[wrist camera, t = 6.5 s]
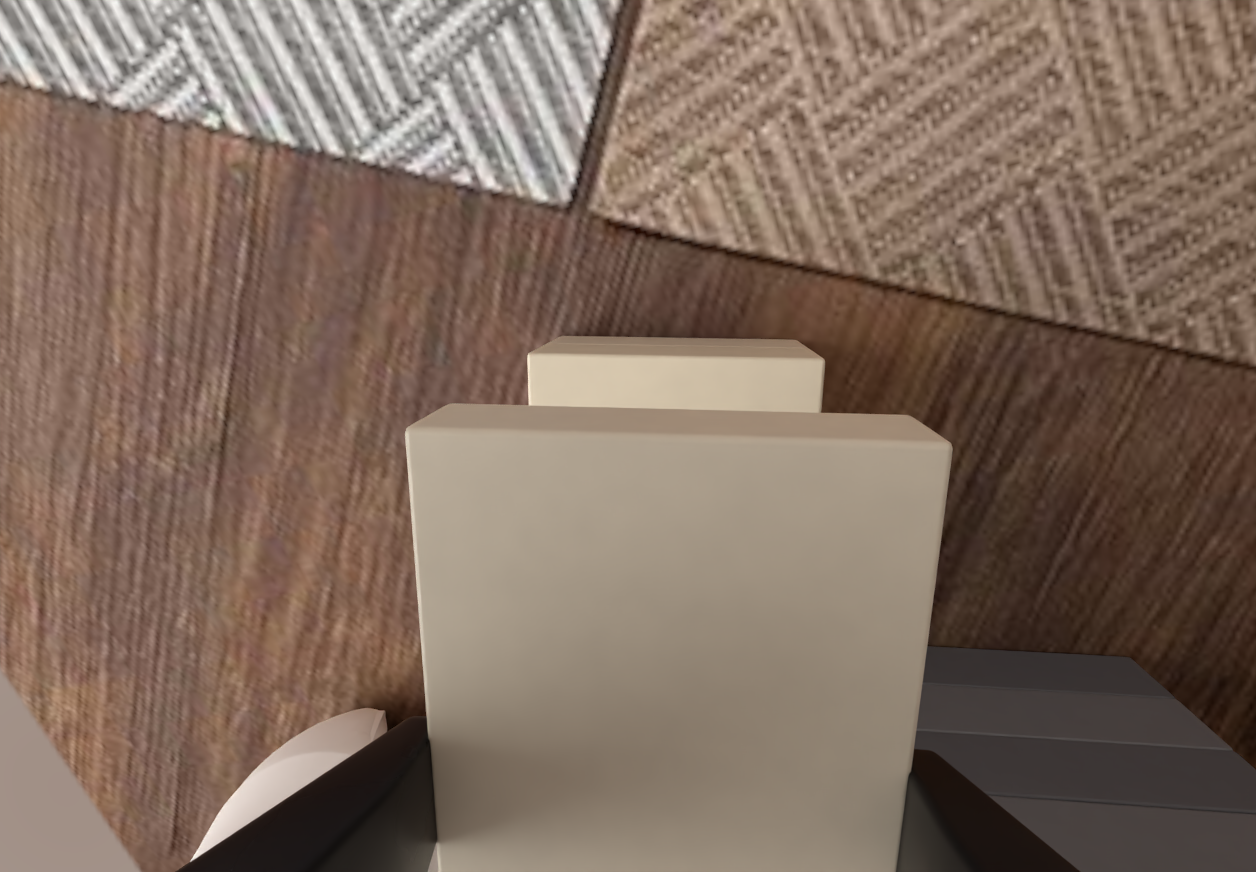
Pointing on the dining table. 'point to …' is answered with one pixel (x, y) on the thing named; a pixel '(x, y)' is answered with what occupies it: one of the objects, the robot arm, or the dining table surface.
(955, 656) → the grey stack
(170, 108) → the dining table surface
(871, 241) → the dining table surface
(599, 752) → the beige flat block
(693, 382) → the beige rectangular block
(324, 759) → the water bottle
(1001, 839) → the robot arm
